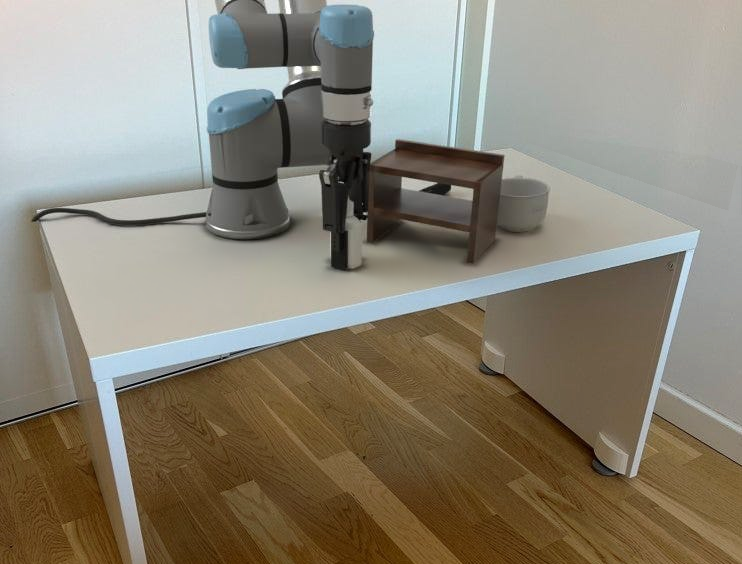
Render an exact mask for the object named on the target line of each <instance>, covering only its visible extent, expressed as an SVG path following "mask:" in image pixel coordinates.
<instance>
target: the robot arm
mask: <svg viewBox="0 0 742 564" xmlns="http://www.w3.org/2000/svg"><path fill="white" fill-rule="evenodd" d="M277 2H278V9H279V12H278V13H268V9H267V7H266V2H265V0H214V4H215V8H216V13H217V14H212V15H210V17H209V19H208V39H209V47H210V55H211V59H212V62H213V64H214V65H215V67H218V68H221V69H237V70H245V69H247V70H248V69H265V68H286V69H287V77H288V82H287V83H286V84H285V86H284V87H283V88H282V90H281V96H282V98H276V96H275V95H274V93H273V91H272V90H269V89H265V88H260V89H259V88H257V89H255V88H247V89H241V90H236V91H232V92H226V93H224V94H221V95H219V96H217V97H215V98H214V99H212V100H211V101H210V102H209V104H208V106H207V109H206V115H207V116H206V118H207V119H206V121H207V126H206V133H207V134H208V142H209V154H210V155H209V156H210V166H211V167H210V168H211V179H212V188H211V191H210V196H209V200H208V205H207V210H206V211H204V212H203V211H202V212H196V213H186V214H179V215H173V216H165V217H155V218H146V219H132V220H131V219H129V220H128V219H116V218H110V217H107V216H105V215H103V214H102V213H100V212H97V211H95V210H91V209H79V208H69V207H51V208H46V209H44V210H42V211H40V212H38V213H36V214H35V215H34V216H33V217H32V218H31V220H30V222H31V223H34V222H38V221H39V220H40V219H41V218H43V217H45V216H47V215H51V214H60V213H61V214H64V213H65V214H74V215H86V216H92V217H95V218H97V219H99V220H101V221H102V222H105V223H107V224H111V225H115V226H116V225H117V226H142V225H151V224H160V223H161V224H162V223H170V222H178V221H185V220H192V219H193V220H194V219H202V218H205V224H206V229H207V230H208V231H209V232H210V233H212V234H213V235H216V236H218V237H221V238H227V239H232V240H258V239H264V238H270V237H273V236H276V235H279V234H280V233H283V232H285V231H286V230H287V229H288V228H289V227H290V224H291V222H290V212H289V209H288V208H287V204H286V200H285V198H284V195H283V193H282V191H281V188H280V185H279V177H278V175H279V174H278V169H283V168H299V167H300V168H301V167H314V166H316V167H317V166H327V168H326V169H325V170H324V169H321V170H319V173H318V178H319V182H320V185H321V186H320V187H321V189H320V190H321V191H320V192H321V217H322V219H321V220H322V222H321V223H322V230H323V231H326V232H329V233H330V232H331V260H330V268H335V269H340V270H343V271H344V270H345V271H346V270H348V269H349V268H348V231H346V230H345V223H346V213H347V203H348V195H349V200H351V201H353V203H354V207H353V215H354V216H355V217H356V218H357V219H358V220H359V221H360V222H361V223H362V221H364V222H365V221H366V222H367V211H368V198H369V168H370V163H371V162H372V152H371V151H364V149H367V148H368V147H370V146H371V142H372V122H371V120H369V119H370V118H371V117H372V106H373V105H374V100H373V99H372V89H373V87H372V86H373V51H374V48H373V46H374V39H375V31H374V20H373V19H374V18H373V17H374V16H373V12H372V10H371V9H370V8H369V7H368V6H364V5H358V4H329V5H328V2H327V0H277ZM364 213H365V214H364Z"/></svg>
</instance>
